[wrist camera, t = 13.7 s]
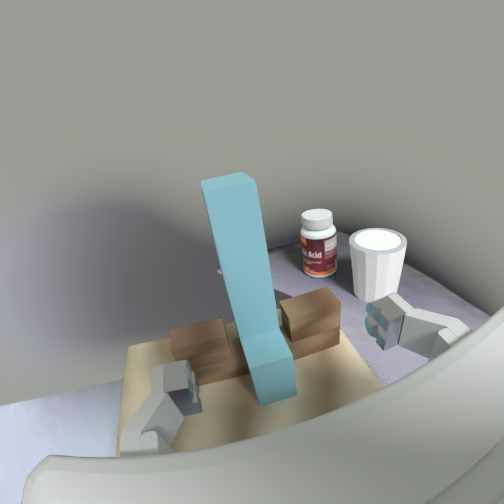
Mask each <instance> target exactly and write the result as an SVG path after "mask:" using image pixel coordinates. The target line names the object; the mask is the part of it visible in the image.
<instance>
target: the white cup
mask: <svg viewBox="0 0 504 504" xmlns="http://www.w3.org/2000/svg"><path fill="white" fill-rule="evenodd" d="M349 242H350V252H351V261H352V272H353V284H354V294H355V295H356V296H357V297H358V299H360V300H362V301H364V302H367V303H370V302H372V301H375V300H377V299H380V298H382V297H385V296H386V295H389V294H391V293H393V292H394V293H397V289H398V284H399V280H400V275H401V271H402V266H403V261H404V256H405V250H406V245H407V240H406V238H405V237H404V236H403V235H402V234H400V233H398V232H396V231H393V230H390V229H383V228H368V229H364V230H360V231H357V232H355V233H354V234H352V235H351V237H350V238H349Z"/></svg>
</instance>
